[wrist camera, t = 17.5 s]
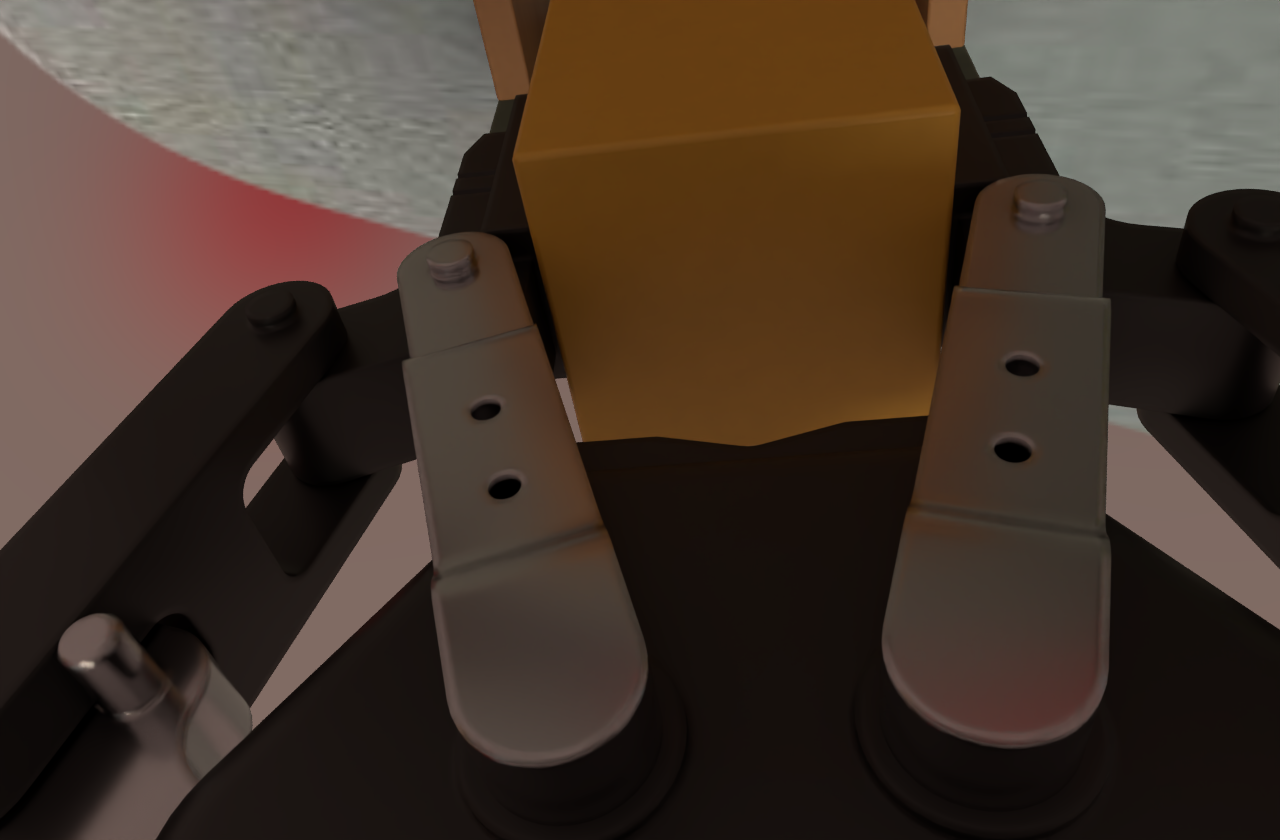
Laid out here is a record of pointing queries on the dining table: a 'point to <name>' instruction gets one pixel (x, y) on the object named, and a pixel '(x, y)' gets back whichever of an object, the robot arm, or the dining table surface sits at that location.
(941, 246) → the block
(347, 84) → the dining table surface
